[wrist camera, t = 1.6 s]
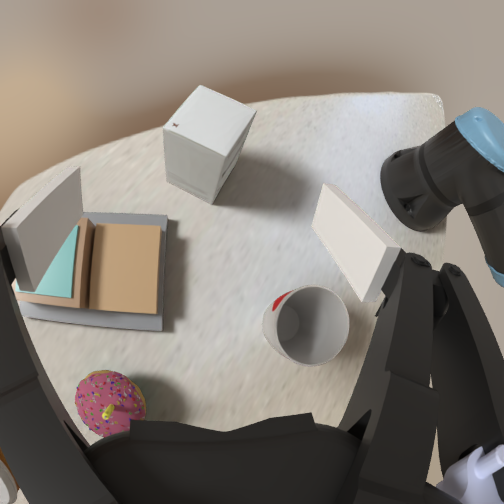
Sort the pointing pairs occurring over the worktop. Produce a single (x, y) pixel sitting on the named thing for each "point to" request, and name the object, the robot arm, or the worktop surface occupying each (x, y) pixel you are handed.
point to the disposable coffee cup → (7, 483)
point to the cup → (307, 325)
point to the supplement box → (205, 142)
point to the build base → (105, 274)
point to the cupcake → (109, 402)
